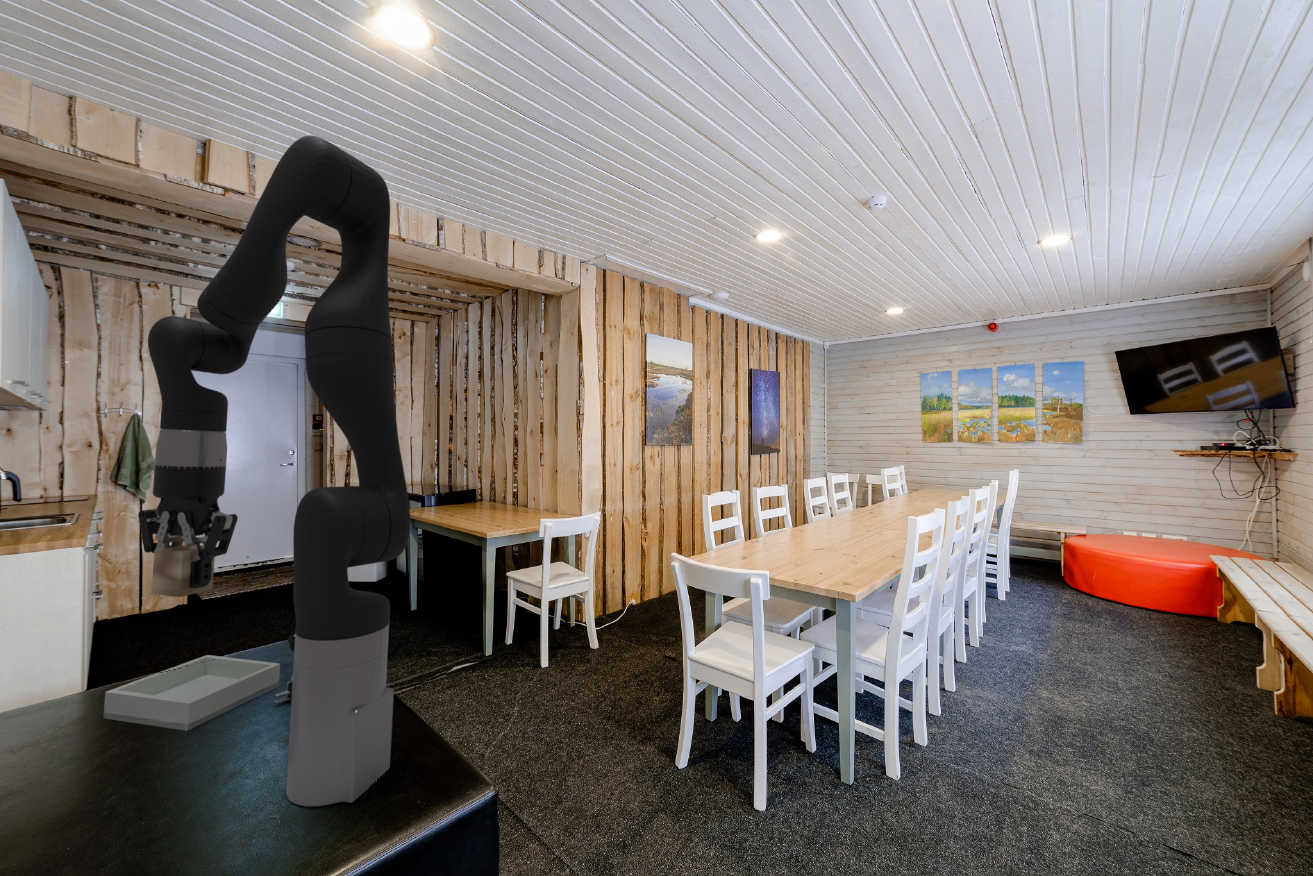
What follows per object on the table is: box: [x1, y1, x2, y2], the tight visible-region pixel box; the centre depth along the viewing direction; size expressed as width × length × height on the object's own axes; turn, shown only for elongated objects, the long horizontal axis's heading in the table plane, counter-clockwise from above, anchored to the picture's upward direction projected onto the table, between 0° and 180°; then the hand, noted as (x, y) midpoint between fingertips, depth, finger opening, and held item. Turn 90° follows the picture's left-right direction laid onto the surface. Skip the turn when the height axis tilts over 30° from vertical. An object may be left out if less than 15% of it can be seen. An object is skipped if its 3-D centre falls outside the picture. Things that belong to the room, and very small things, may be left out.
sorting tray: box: [103, 654, 281, 732], centre depth 76 cm, size 14×14×4 cm
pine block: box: [151, 544, 216, 598], centre depth 73 cm, size 4×4×6 cm
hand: (183, 584), depth 73 cm, fingers closed on pine block, 4 cm apart
